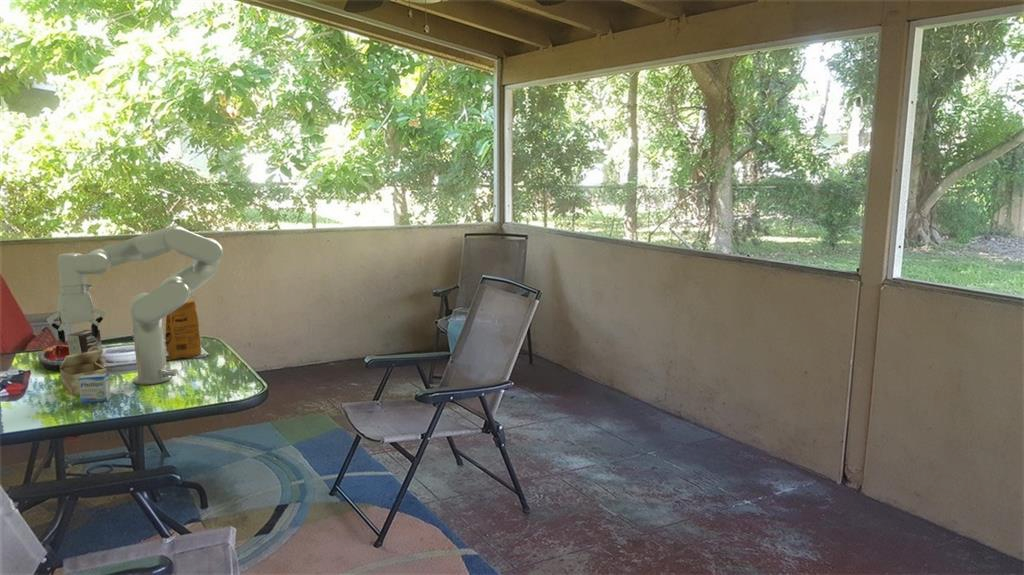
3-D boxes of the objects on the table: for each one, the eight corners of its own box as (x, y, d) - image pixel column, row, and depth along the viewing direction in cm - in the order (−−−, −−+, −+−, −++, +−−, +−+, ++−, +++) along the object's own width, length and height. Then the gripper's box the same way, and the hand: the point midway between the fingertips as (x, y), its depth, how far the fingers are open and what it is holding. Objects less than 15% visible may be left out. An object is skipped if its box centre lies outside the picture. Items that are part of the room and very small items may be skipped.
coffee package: (165, 355, 286) (160, 302, 282) (198, 350, 293) (193, 298, 289) (170, 360, 278) (164, 306, 274) (203, 355, 285) (198, 302, 281)
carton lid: (95, 362, 251) (95, 360, 251) (103, 350, 243) (102, 349, 243) (59, 368, 243) (59, 366, 243) (66, 357, 235) (66, 355, 235)
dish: (40, 376, 259) (38, 363, 258) (38, 357, 284) (36, 345, 283) (89, 369, 268) (87, 356, 267) (83, 351, 293) (81, 340, 292)
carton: (97, 380, 252) (95, 362, 251) (108, 388, 244) (106, 368, 243) (62, 388, 245) (60, 368, 243) (73, 395, 236) (70, 375, 235)
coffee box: (86, 378, 255) (81, 335, 252) (71, 377, 257) (65, 334, 254) (105, 371, 264) (100, 329, 261) (90, 370, 265) (85, 328, 262)
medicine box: (80, 403, 229) (77, 378, 227) (84, 399, 233) (81, 374, 231) (107, 401, 231) (104, 376, 229) (111, 397, 235) (108, 372, 233)
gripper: (98, 285, 246) (103, 333, 249) (41, 291, 234) (46, 341, 237) (106, 288, 241) (110, 336, 244) (47, 294, 229) (53, 345, 232)
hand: (79, 338), depth 240 cm, fingers open, 9 cm apart
